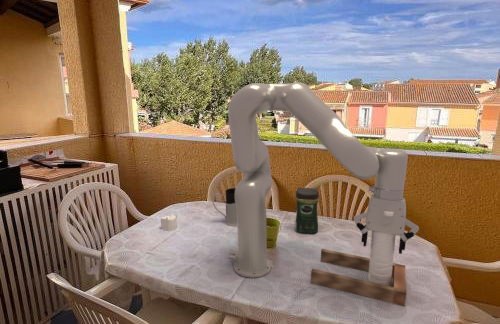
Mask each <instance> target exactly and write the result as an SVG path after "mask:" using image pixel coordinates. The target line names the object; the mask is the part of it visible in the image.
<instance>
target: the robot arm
mask: <svg viewBox="0 0 500 324" xmlns="http://www.w3.org/2000/svg"><path fill="white" fill-rule="evenodd" d="M267 111H272V112H273V111H275V112H276V111H279V112H280V111H283V112H284V111H286V112H287V111H288V112H289V114H291V115H292V116H293V117H294V118H295V119H296V120H298V122H299V123H301V125H303V126H304V127H305V128H306V130H308V131H309V132H310V133H311V134H312V135H313V136H314V137H315V138H316V139H317V141H318V142H319V143H320V144H321V145H322V146H324V148H325V149H326V150H327V151H328V152H329V153H330V155H332V157H334V159H336V160H337V162H339V163H340V164H341V166H343V167H344V168H345V169H346V170H347V171H348V172H349V173H350V174H351V175H353V177H356V178H357V179H361V180H369V179H372V178H373V177H375V178H374V179H375V180H374V185H373V186H370V185H369V187H368V192H372V194H370V196H369V197H370V198H369V201H368V205H367V211H366V212H363V213H360V214H356V215H354V216H353V221H354V223H355V225H356V227H357V228H358V229H359V231H360V233H361V242H362V243H363V246H362V247H366V246H367V241H368V235H369V234H368V233H369V231H371V232H372V231H376V232H382V233H387V234H393V235H396V236H399V237H400V238H399V245H398V254H400V255H402V253H403V251H406V244H407V243H406V242H407V241H408V240H410V239H411V238H413V237H414V236H415V235H416V234H417V232H419V230H420V228H419V225H417V224H415V223H414V222H412V221H411V220H409V219H408V218H407V217H406V216H407V203H406V199H405V197H404V190H405V182H406V174H407V169H408V168H407V167H408V160H409V159H408V158H409V156H408V153H407V151H405V150H403V149H398V148H378V147H372V146H367V145H364V143H362V142H361V141H360V140H359V139H358V138H357V137H356V136H355V135H354V134H353V133H352V132H351V131H350V130H349V129H348V127H347V126H346V125H345V124H344V121H343V120H342V119H341V117H340V116H339V115H338V114H337V113H336V112H335V111H334V110H332V109H331V108H330V107H329V105H327V104H326V103H325V102H324V101H323V100H322V99H321V98H320V97H319V96H318V95H316V93H315V92H314V91H313V90H312V88H311V87H310V86H309V85H307V84H306V83H303V82H300V81H299V82H298V81H296V82H290V83H261V82H254V83H253V82H252V83H249V84H247V85H244V86H243V87H242V88H240V89H239V90H237V91H236V92H235V93H234V95H233V96H232V97H231V100H230V101H229V104H228V109H227V116H228V124H229V130H230V142H231V150H232V157H233V158H232V159H233V163H234V166H235V168H236V169H237V170H238V171H239V172H240V173H243V175H244V177H243V178H241V180H239V182H238V183H237V185H236V187H235V188H236V189H235V204H236V210H237V226H236V227H237V250H234V249H231V248H230V249H229V250H228V259H229V260H234V263H233V270H234V271H235V273H236V274H238V275H239V276H241V277H244V278H252V279H253V278H261V277H263V276H266V275H267V274H268V273H270V272H271V270H272V263H271V261H270V259H269V258H267V255H268V254H267V253H268V252H267V249H268V248H267V247H268V246H267V243H268V242H267V240H268V239H267V237H268V236H267V232H268V230H267V229H268V228H267V226H268V225H267V208H266V198H267V196H268V194H269V193H270V190H271V189H272V185H273V184H272V183H273V181H272V180H273V177H272V170H271V169H272V168H271V159H270V153H269V148H268V147H267V145H266V143H265V142H264V141H262V140H261V139H260V137H259V127H258V123H257V115H258V114H259V113H262V112H267ZM384 211H392V212H394V214H393V216H386V215H384ZM363 219H365V224H363V223H362V222H361V220H363ZM406 226H407V227H408V228H411V229H410V230H409V231H407V232H405V227H406Z"/></svg>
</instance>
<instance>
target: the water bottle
mask: <svg viewBox="0 0 500 324" xmlns="http://www.w3.org/2000/svg"><path fill="white" fill-rule="evenodd" d="M393 214H394V212H392V211H384V215H386V216H393ZM396 236H397V235H393V234H387V233H382V232H376V231H371V243H370V252H369V254H370V256H369V258H370V262H369V272H368V273H367V274H368V278H367V281H369V282H373V283H377V284H382V285H386V286H390V287H392V285H391V284H392V278H393V277H392V266H393V263H394V256H395V255H394V254H395V246H396V245H395V244H396Z"/></svg>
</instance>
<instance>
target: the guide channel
mask: <svg viewBox="0 0 500 324" xmlns="http://www.w3.org/2000/svg"><path fill="white" fill-rule="evenodd" d="M320 262H322V263H326V264H331V265H337V266H341V267H345V268H348V269H349V268H350V269H354V270H359V271H362V272H363V271H364V272H368V273H369V262H370V257H364V256H359V255H355V254H349V253H344V252H341V251H335V250H330V249H324V248H321V250H320ZM406 274H407V273H406V265H405V264H400V263H396V262H395V263H394V262H393V266H392V277H391V278H393V279H392V280H393V284H392V285H393V286H386V285H382V284H377V283H373V282H369V281H368V280H363V279H359V278H355V277H351V276H347V275H341V274H337V273H334V272H329V271H326V270H325V271H324V270H320V269H315V268H312V269H311V271H310V284H315V285H319V286H322V287H326V288H331V289H334V290H338V291H342V292H346V293H351V294H354V295H359V296H362V297H367V298H370V299H374V300H379V301H382V302H387V303H391V304H395V305H398V306H399V305H400V306H403V307H405V306H406V298H407V283H406V282H407V281H406V277H407V275H406Z"/></svg>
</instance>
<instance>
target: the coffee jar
mask: <svg viewBox="0 0 500 324" xmlns="http://www.w3.org/2000/svg"><path fill="white" fill-rule="evenodd" d="M295 192H296V193H295V196H294V197H295V202H296V215H295V223H294V229H295V231H296V232H297V233H299V234H300V233H301V234H309V235H310V234H316V233H317V232H318V231H319V221H318V203H319V200H320V195H319V190H318V188H315V187H314V188H313V187H312V188H311V187H297V189H296V191H295Z"/></svg>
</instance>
